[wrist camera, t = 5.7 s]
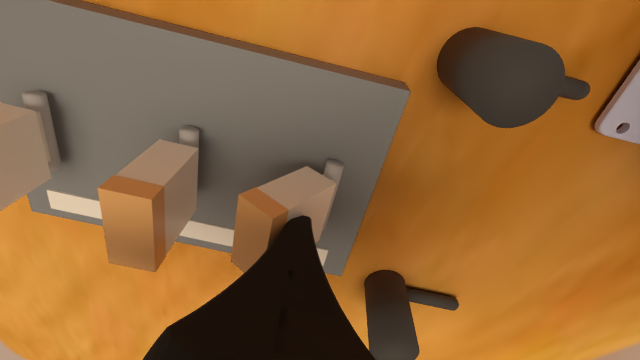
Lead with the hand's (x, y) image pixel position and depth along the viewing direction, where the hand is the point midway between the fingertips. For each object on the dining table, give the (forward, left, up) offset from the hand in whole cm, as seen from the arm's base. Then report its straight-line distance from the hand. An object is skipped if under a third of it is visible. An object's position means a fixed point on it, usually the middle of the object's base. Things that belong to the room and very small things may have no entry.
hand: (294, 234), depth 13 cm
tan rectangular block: (-1, 0, -3) cm, 3 cm away
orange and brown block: (+5, 0, -3) cm, 6 cm away
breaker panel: (+5, 0, -5) cm, 7 cm away
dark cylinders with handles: (-8, 0, -5) cm, 9 cm away
